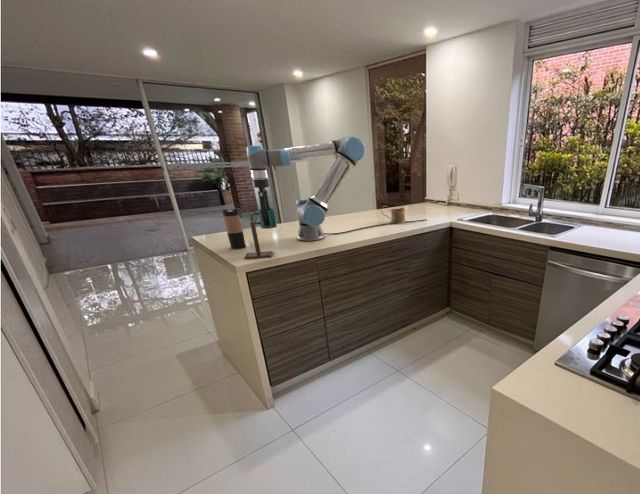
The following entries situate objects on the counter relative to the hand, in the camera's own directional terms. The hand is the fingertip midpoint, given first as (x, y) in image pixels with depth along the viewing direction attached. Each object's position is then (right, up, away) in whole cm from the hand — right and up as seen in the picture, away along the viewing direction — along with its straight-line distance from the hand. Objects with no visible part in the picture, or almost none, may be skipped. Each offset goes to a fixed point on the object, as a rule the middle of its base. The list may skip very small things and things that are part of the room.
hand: (268, 224), depth 180 cm
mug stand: (-2, -17, -5) cm, 18 cm away
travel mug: (-20, -11, +7) cm, 24 cm away
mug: (+62, +16, +69) cm, 94 cm away
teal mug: (-2, -2, 0) cm, 3 cm away
